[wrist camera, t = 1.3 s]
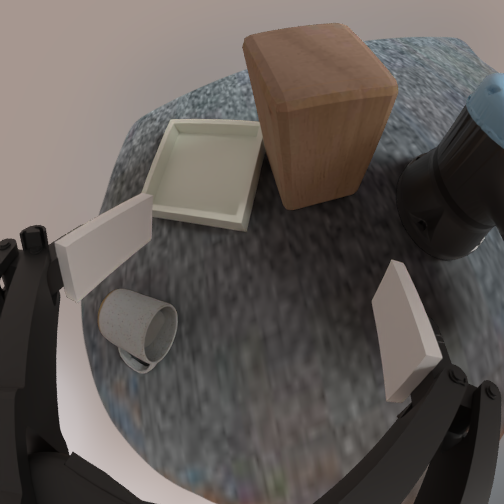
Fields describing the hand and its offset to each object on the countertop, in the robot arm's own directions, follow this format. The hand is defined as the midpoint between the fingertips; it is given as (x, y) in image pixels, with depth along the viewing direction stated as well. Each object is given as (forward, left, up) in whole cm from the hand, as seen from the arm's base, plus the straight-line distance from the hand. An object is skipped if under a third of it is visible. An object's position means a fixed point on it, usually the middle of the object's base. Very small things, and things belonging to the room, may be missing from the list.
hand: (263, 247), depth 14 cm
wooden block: (-1, -15, -19) cm, 25 cm away
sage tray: (+13, -13, -19) cm, 27 cm away
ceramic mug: (+15, +10, -20) cm, 27 cm away
